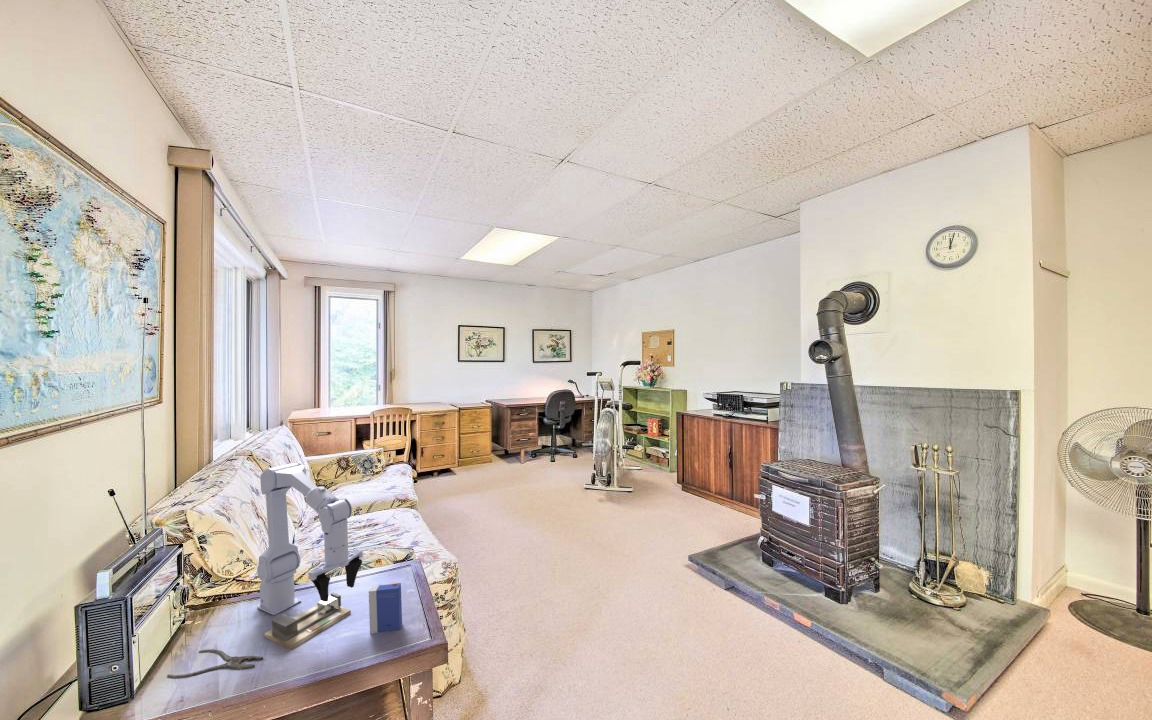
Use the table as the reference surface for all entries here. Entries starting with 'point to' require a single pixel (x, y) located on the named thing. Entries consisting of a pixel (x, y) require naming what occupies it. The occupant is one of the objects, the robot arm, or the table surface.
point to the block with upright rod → (329, 604)
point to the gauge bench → (303, 626)
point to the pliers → (232, 664)
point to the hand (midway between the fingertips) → (337, 593)
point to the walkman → (385, 608)
